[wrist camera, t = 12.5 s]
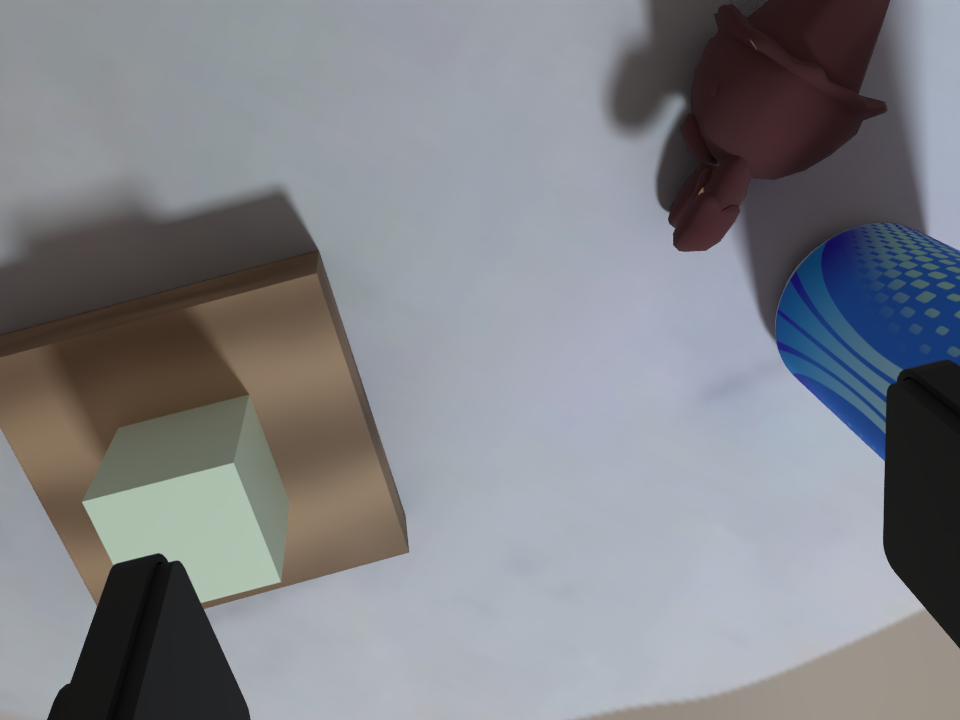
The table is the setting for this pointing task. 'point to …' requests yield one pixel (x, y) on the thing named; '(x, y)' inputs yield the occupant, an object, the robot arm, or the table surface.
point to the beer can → (869, 319)
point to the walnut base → (203, 381)
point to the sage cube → (195, 497)
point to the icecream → (772, 103)
